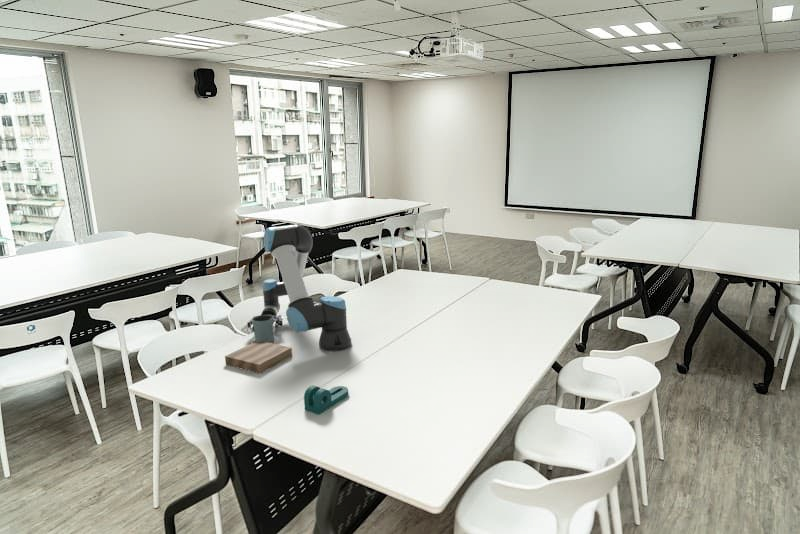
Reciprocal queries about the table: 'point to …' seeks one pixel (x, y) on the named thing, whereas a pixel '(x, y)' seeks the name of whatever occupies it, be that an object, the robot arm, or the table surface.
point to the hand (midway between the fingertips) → (262, 329)
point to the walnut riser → (258, 356)
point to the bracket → (323, 398)
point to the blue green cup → (263, 328)
